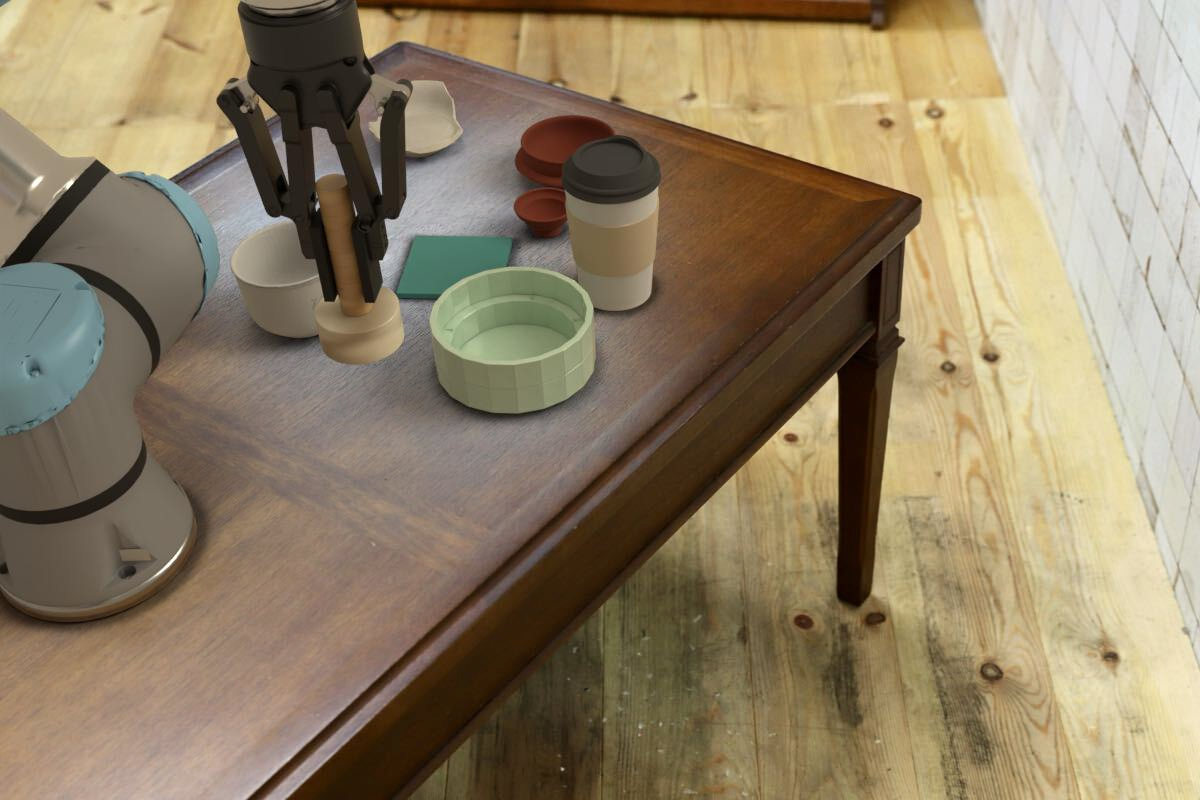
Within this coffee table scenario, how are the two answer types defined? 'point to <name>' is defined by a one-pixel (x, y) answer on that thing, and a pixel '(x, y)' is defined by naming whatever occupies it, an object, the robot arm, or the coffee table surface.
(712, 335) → the coffee table surface
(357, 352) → the wooden peg
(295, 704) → the coffee table surface
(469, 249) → the mat
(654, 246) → the coffee cup
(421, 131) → the pottery shard
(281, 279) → the teacup
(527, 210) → the pottery
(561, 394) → the bowl
